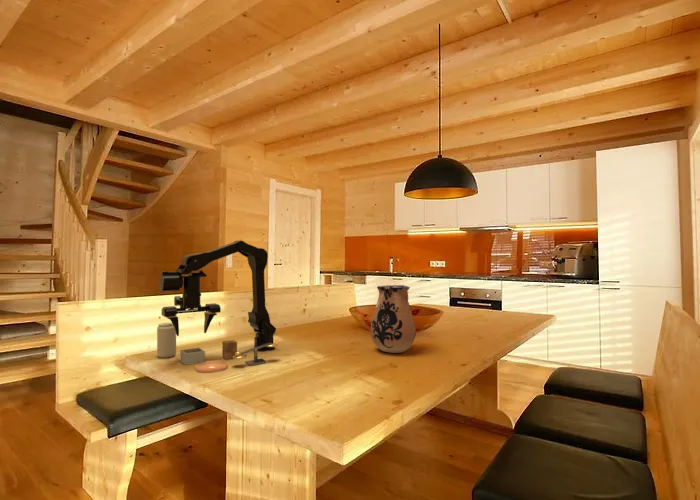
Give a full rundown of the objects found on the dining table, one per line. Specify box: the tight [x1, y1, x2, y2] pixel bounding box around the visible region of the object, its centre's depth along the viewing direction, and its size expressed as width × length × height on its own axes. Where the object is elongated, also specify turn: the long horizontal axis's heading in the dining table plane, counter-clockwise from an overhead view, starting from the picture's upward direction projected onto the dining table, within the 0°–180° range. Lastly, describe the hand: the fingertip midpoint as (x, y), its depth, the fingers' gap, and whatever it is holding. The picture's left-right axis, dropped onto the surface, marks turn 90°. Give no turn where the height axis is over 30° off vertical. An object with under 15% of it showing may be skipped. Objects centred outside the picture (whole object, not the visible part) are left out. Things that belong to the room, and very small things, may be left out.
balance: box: [233, 342, 279, 367], centre depth 139 cm, size 16×4×6 cm, turn 125°
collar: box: [179, 347, 206, 365], centre depth 142 cm, size 7×7×4 cm
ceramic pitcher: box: [370, 284, 417, 354], centre depth 158 cm, size 18×21×25 cm
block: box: [221, 339, 238, 361], centre depth 146 cm, size 4×4×6 cm
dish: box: [195, 359, 229, 374], centre depth 133 cm, size 10×10×1 cm
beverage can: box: [156, 322, 177, 359], centre depth 148 cm, size 6×6×12 cm
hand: (191, 334), depth 142 cm, fingers open, 9 cm apart
